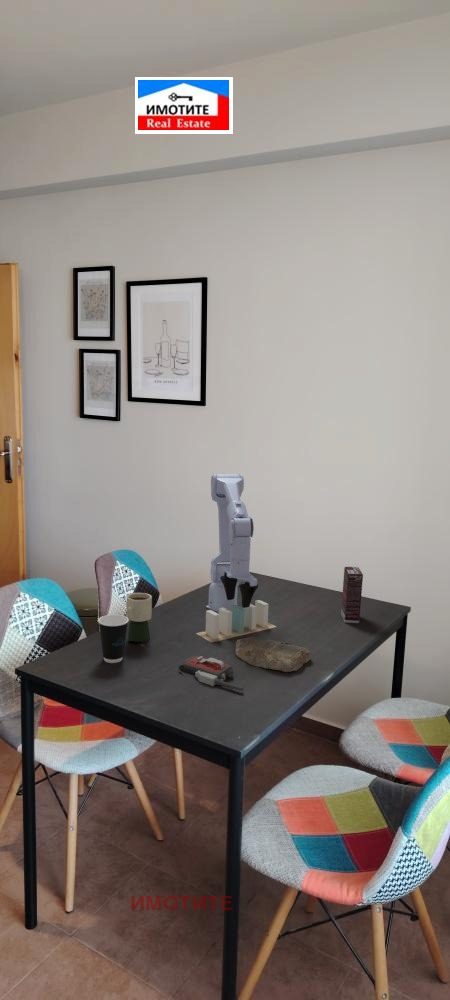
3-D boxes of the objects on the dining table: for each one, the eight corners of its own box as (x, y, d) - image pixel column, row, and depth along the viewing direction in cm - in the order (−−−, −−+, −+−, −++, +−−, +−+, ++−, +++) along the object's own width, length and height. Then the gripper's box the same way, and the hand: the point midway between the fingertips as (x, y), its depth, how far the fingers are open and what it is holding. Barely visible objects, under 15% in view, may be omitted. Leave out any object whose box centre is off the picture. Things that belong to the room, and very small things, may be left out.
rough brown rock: (223, 660, 188) (290, 677, 178) (223, 642, 187) (291, 659, 177) (248, 644, 200) (313, 660, 190) (249, 628, 199) (314, 643, 189)
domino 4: (263, 627, 210) (264, 604, 209) (254, 622, 214) (255, 600, 213) (267, 626, 211) (268, 604, 210) (258, 621, 215) (259, 599, 213)
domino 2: (226, 635, 203) (227, 612, 201) (218, 631, 206) (218, 608, 205) (231, 634, 203) (232, 611, 202) (222, 629, 207) (223, 607, 206)
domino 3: (251, 630, 208) (252, 607, 206) (242, 625, 211) (243, 603, 210) (255, 629, 209) (256, 606, 207) (246, 624, 212) (247, 602, 211)
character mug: (138, 631, 205) (139, 589, 202) (159, 636, 202) (160, 593, 199) (117, 644, 195) (117, 599, 193) (138, 649, 192) (139, 604, 190)
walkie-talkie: (172, 675, 178) (240, 696, 167) (173, 658, 177) (241, 679, 166) (192, 663, 185) (258, 683, 175) (193, 647, 184) (259, 667, 174)
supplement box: (360, 623, 218) (363, 574, 215) (344, 623, 218) (347, 573, 215) (355, 614, 226) (358, 566, 224) (340, 613, 227) (343, 566, 224)
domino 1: (214, 638, 200) (214, 615, 199) (205, 633, 203) (206, 610, 202) (218, 637, 201) (219, 614, 200) (210, 632, 204) (210, 609, 203)
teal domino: (239, 632, 205) (240, 610, 204) (230, 628, 209) (231, 605, 207) (243, 631, 206) (244, 609, 205) (234, 627, 210) (235, 604, 208)
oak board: (195, 635, 204) (195, 633, 204) (260, 620, 218) (260, 618, 217) (211, 644, 197) (211, 642, 197) (276, 628, 211) (276, 626, 211)
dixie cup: (121, 667, 180) (122, 626, 178) (93, 663, 182) (93, 623, 180) (132, 655, 188) (133, 616, 186) (104, 651, 190) (105, 613, 188)
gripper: (214, 554, 207) (212, 598, 209) (244, 566, 195) (242, 612, 198) (233, 551, 211) (231, 594, 213) (263, 563, 199) (261, 608, 202)
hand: (238, 603), depth 206 cm, fingers open, 7 cm apart
